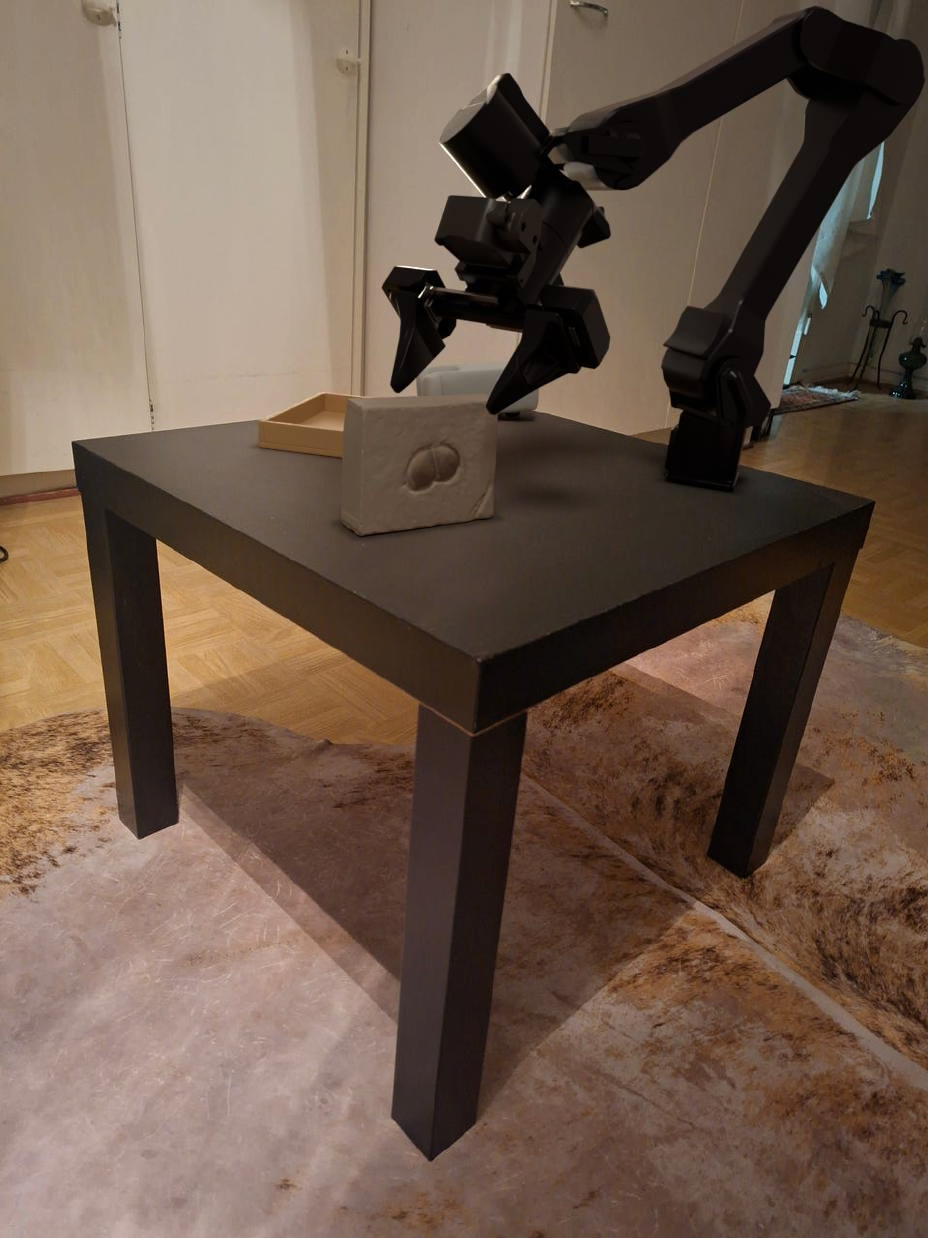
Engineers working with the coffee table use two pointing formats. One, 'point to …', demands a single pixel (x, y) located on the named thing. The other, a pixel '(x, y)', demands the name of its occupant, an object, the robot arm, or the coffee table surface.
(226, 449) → the coffee table surface
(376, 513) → the fossil
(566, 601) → the coffee table surface
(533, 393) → the toy
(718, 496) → the coffee table surface
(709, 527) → the coffee table surface
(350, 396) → the wooden tray
